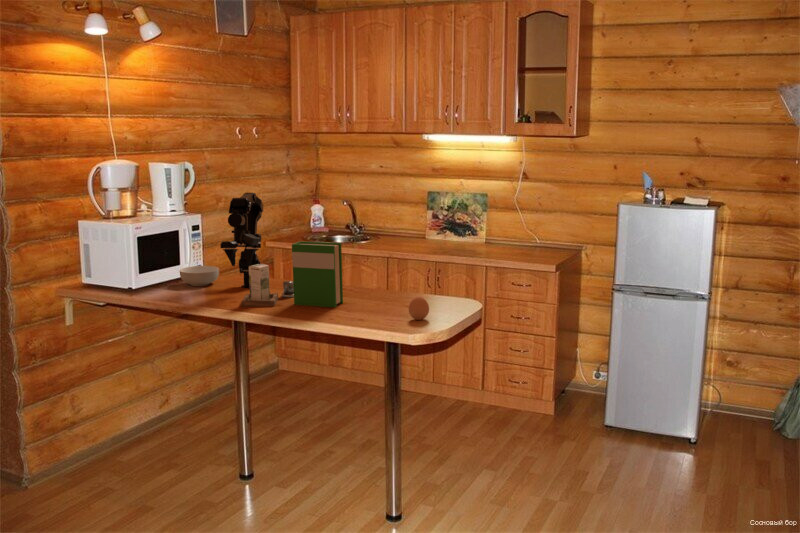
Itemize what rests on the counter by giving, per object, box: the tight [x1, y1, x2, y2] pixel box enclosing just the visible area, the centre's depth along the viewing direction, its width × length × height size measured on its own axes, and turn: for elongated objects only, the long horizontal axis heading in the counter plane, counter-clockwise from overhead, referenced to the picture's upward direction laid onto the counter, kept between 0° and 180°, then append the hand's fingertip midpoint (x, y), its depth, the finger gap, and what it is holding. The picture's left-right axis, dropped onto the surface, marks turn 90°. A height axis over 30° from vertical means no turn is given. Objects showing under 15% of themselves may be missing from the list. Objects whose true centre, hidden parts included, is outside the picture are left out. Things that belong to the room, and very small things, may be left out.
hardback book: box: [291, 240, 344, 308], centre depth 304 cm, size 18×7×24 cm, turn 71°
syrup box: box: [248, 263, 271, 300], centre depth 308 cm, size 6×6×14 cm
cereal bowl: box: [179, 265, 220, 287], centre depth 345 cm, size 17×17×7 cm
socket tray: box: [240, 293, 279, 308], centre depth 309 cm, size 13×13×2 cm
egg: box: [408, 295, 430, 321], centre depth 279 cm, size 7×7×8 cm
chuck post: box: [281, 280, 294, 299], centre depth 319 cm, size 6×6×6 cm
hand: (241, 265), depth 322 cm, fingers open, 9 cm apart
